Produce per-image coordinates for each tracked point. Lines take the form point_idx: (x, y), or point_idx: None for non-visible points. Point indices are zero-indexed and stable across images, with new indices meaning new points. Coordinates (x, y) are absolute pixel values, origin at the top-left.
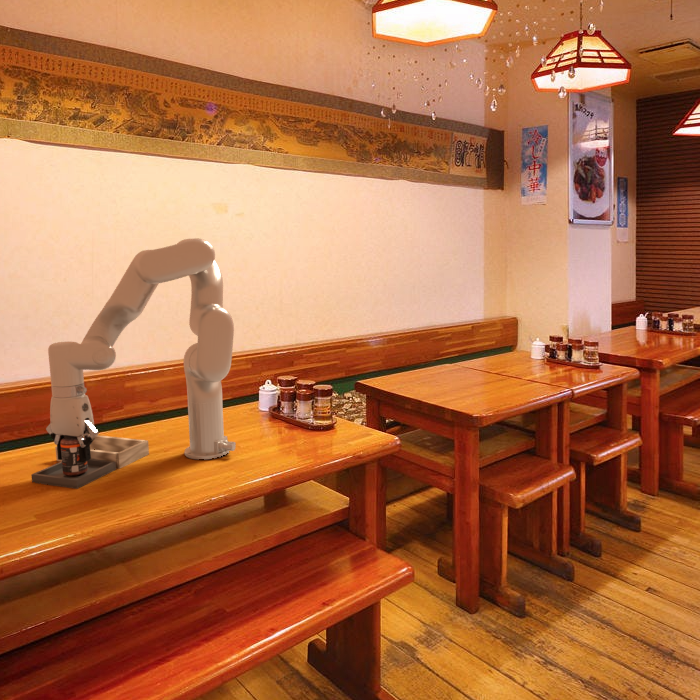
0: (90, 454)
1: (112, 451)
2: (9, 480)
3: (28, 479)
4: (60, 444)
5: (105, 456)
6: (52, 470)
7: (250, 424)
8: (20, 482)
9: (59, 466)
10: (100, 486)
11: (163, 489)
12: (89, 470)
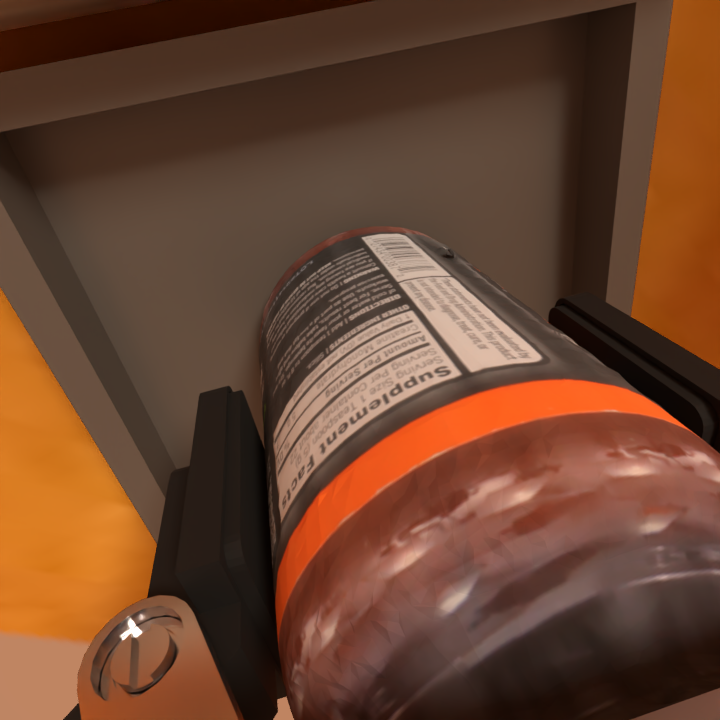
0: (621, 313)
1: None
2: (8, 616)
3: (103, 544)
4: (278, 671)
5: None
6: (150, 433)
7: None
8: (125, 587)
9: (107, 362)
10: (690, 340)
11: None
12: (420, 205)
